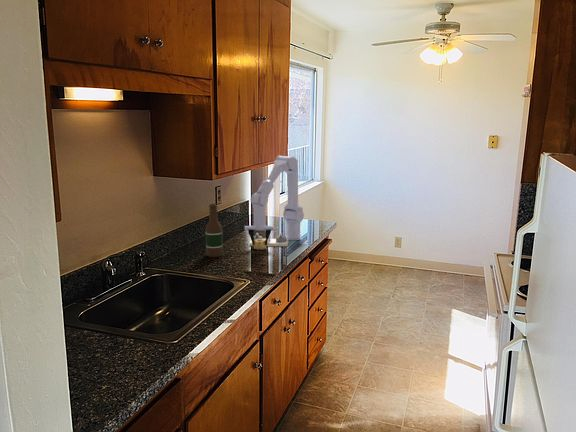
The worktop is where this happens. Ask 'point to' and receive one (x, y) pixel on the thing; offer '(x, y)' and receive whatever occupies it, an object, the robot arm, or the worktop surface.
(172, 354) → the worktop surface
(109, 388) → the worktop surface
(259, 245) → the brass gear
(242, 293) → the worktop surface
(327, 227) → the worktop surface
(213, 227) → the beer bottle
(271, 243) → the gear board
